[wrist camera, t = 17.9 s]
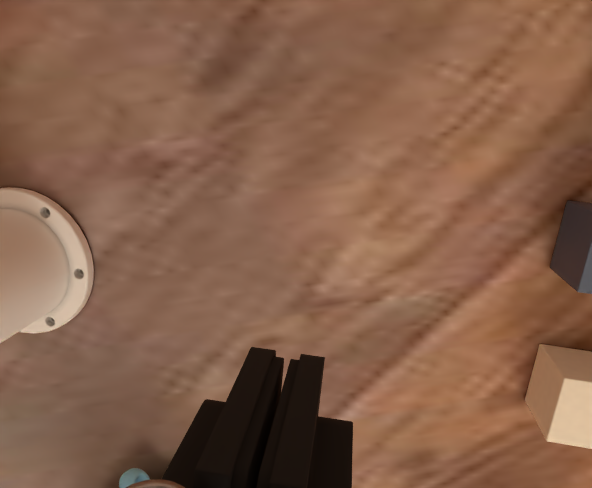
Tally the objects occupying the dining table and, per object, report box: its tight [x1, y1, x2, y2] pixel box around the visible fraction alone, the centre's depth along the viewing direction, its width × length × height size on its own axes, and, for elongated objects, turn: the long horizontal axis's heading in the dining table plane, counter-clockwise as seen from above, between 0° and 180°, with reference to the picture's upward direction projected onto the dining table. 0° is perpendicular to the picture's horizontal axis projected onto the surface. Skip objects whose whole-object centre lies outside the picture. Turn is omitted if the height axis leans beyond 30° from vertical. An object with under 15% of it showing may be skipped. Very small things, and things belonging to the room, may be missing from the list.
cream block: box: [525, 344, 592, 449], centre depth 35 cm, size 5×5×5 cm
